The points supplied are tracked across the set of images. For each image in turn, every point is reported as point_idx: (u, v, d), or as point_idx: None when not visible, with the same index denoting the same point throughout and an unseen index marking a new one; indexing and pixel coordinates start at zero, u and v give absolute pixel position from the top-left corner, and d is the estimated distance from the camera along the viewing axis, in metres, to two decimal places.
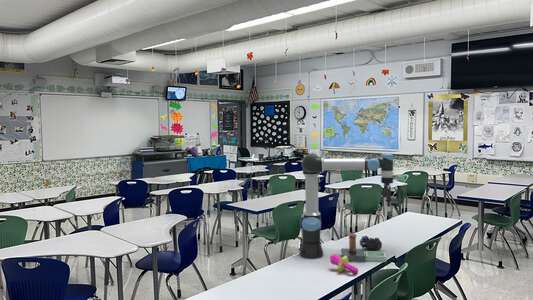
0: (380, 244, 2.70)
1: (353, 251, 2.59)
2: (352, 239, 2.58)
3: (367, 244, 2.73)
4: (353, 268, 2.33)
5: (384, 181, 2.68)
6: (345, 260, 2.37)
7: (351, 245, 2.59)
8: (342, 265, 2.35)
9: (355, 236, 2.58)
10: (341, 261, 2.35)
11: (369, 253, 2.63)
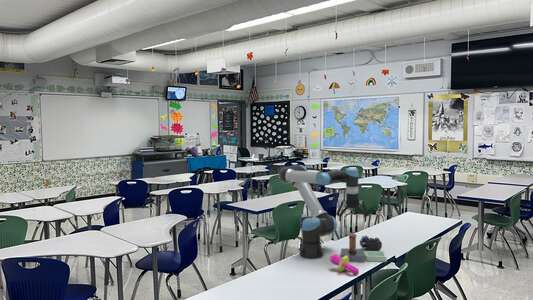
0: (380, 244, 2.70)
1: (353, 251, 2.59)
2: (352, 239, 2.58)
3: (367, 244, 2.73)
4: (353, 268, 2.33)
5: None
6: (345, 260, 2.37)
7: (351, 245, 2.59)
8: (342, 265, 2.36)
9: (355, 236, 2.58)
10: (341, 261, 2.35)
11: (369, 253, 2.63)
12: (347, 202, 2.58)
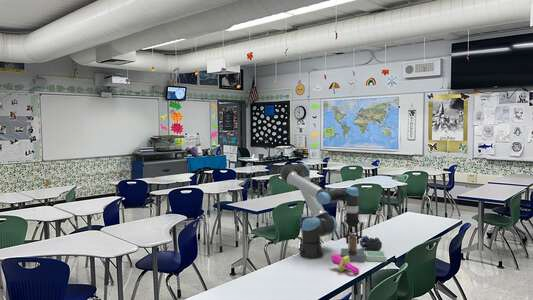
0: (380, 244, 2.70)
1: (353, 251, 2.59)
2: (352, 239, 2.58)
3: (367, 244, 2.73)
4: (354, 268, 2.33)
5: None
6: (346, 260, 2.37)
7: (351, 245, 2.59)
8: (343, 265, 2.36)
9: (355, 236, 2.58)
10: (342, 261, 2.35)
11: (369, 253, 2.63)
12: (347, 221, 2.59)
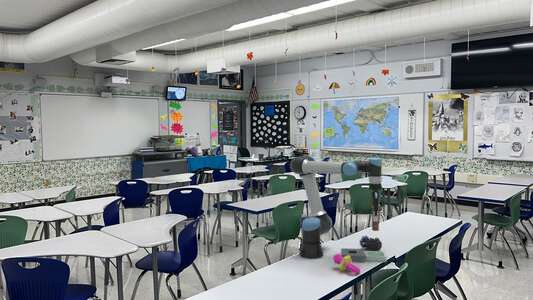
0: (380, 244, 2.70)
1: None
2: (378, 210, 2.56)
3: (367, 244, 2.73)
4: (354, 268, 2.33)
5: (372, 187, 2.53)
6: (347, 260, 2.37)
7: (378, 216, 2.56)
8: (344, 264, 2.36)
9: None
10: (343, 261, 2.36)
11: (369, 253, 2.63)
12: (377, 193, 2.53)
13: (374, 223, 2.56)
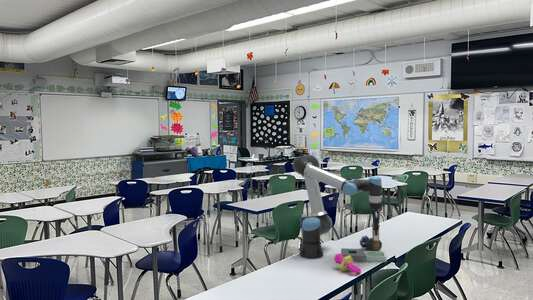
0: (380, 244, 2.70)
1: None
2: None
3: (367, 244, 2.73)
4: (355, 268, 2.33)
5: (372, 207, 2.54)
6: (348, 260, 2.37)
7: (378, 235, 2.57)
8: (344, 264, 2.36)
9: None
10: (343, 261, 2.36)
11: (369, 253, 2.63)
12: (377, 212, 2.54)
13: (374, 242, 2.56)
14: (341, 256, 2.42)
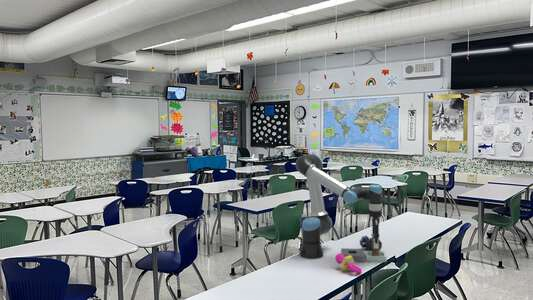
0: (380, 244, 2.70)
1: None
2: None
3: (367, 244, 2.73)
4: (355, 268, 2.32)
5: (372, 215, 2.54)
6: (349, 260, 2.37)
7: None
8: (345, 264, 2.37)
9: None
10: (344, 260, 2.36)
11: (369, 253, 2.63)
12: (377, 220, 2.54)
13: (374, 251, 2.57)
14: (342, 256, 2.42)
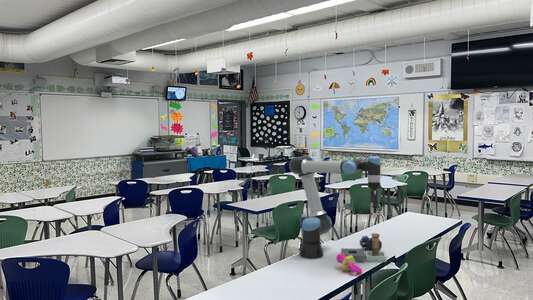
0: (380, 244, 2.70)
1: None
2: (378, 238, 2.57)
3: (367, 244, 2.73)
4: (355, 268, 2.32)
5: (371, 186, 2.54)
6: (349, 260, 2.37)
7: (378, 244, 2.57)
8: (346, 264, 2.37)
9: None
10: (345, 260, 2.36)
11: (369, 253, 2.63)
12: None
13: (374, 251, 2.57)
14: (343, 256, 2.42)
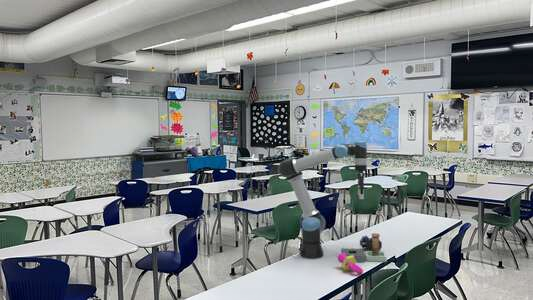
0: (380, 244, 2.70)
1: None
2: (378, 238, 2.57)
3: (367, 244, 2.73)
4: (356, 268, 2.32)
5: (357, 169, 2.65)
6: (350, 259, 2.38)
7: (378, 244, 2.57)
8: (346, 264, 2.37)
9: None
10: (345, 260, 2.37)
11: (369, 253, 2.63)
12: (362, 173, 2.65)
13: (374, 251, 2.57)
14: (344, 256, 2.42)
